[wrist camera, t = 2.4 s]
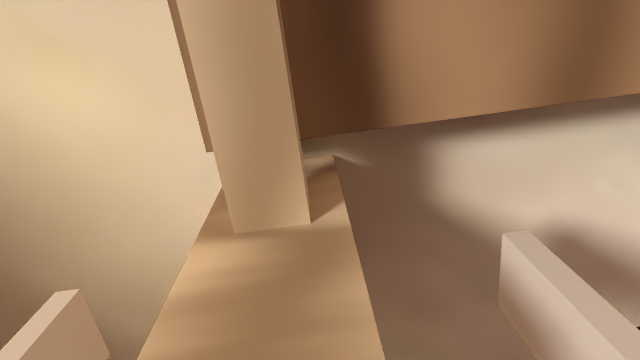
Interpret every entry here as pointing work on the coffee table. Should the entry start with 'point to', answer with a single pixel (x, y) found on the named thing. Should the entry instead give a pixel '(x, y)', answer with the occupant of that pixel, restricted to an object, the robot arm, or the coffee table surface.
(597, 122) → the coffee table surface
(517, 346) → the coffee table surface
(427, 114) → the walnut board
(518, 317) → the robot arm
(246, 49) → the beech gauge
